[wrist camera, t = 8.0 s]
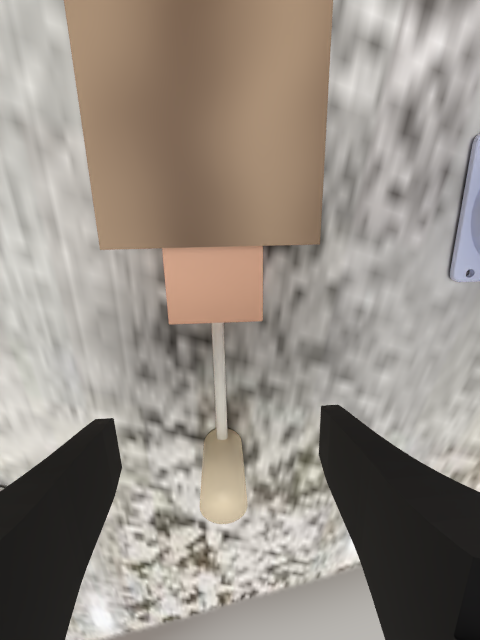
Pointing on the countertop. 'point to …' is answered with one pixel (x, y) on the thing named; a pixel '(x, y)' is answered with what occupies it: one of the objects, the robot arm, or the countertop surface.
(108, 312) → the countertop surface
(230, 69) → the panel
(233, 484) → the cord block
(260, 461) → the countertop surface
